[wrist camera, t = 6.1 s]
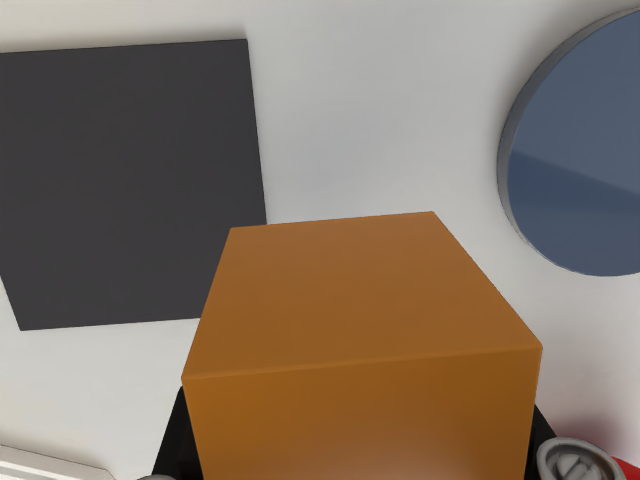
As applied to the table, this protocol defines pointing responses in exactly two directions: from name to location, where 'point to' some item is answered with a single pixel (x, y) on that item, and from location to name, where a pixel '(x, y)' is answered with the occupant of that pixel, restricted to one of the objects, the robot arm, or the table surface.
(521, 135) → the plate
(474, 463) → the block
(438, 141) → the table surface
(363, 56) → the table surface
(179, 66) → the mat
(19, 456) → the tray
